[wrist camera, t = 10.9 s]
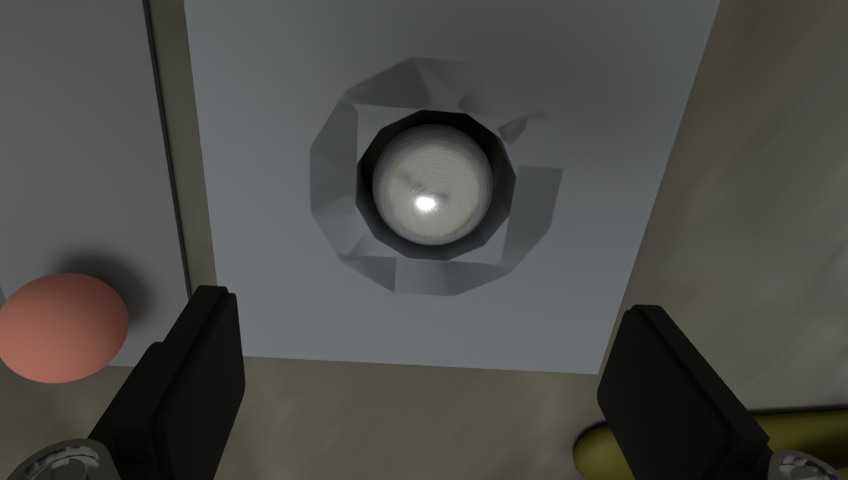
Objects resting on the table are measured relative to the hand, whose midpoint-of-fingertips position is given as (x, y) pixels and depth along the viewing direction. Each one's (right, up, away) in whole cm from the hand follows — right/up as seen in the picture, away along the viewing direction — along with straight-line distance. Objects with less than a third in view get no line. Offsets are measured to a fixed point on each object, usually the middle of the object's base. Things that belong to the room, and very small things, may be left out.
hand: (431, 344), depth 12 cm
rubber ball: (-18, -2, +13) cm, 23 cm away
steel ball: (0, +5, +10) cm, 12 cm away
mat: (-18, +8, +12) cm, 23 cm away
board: (0, +6, +13) cm, 14 cm away
